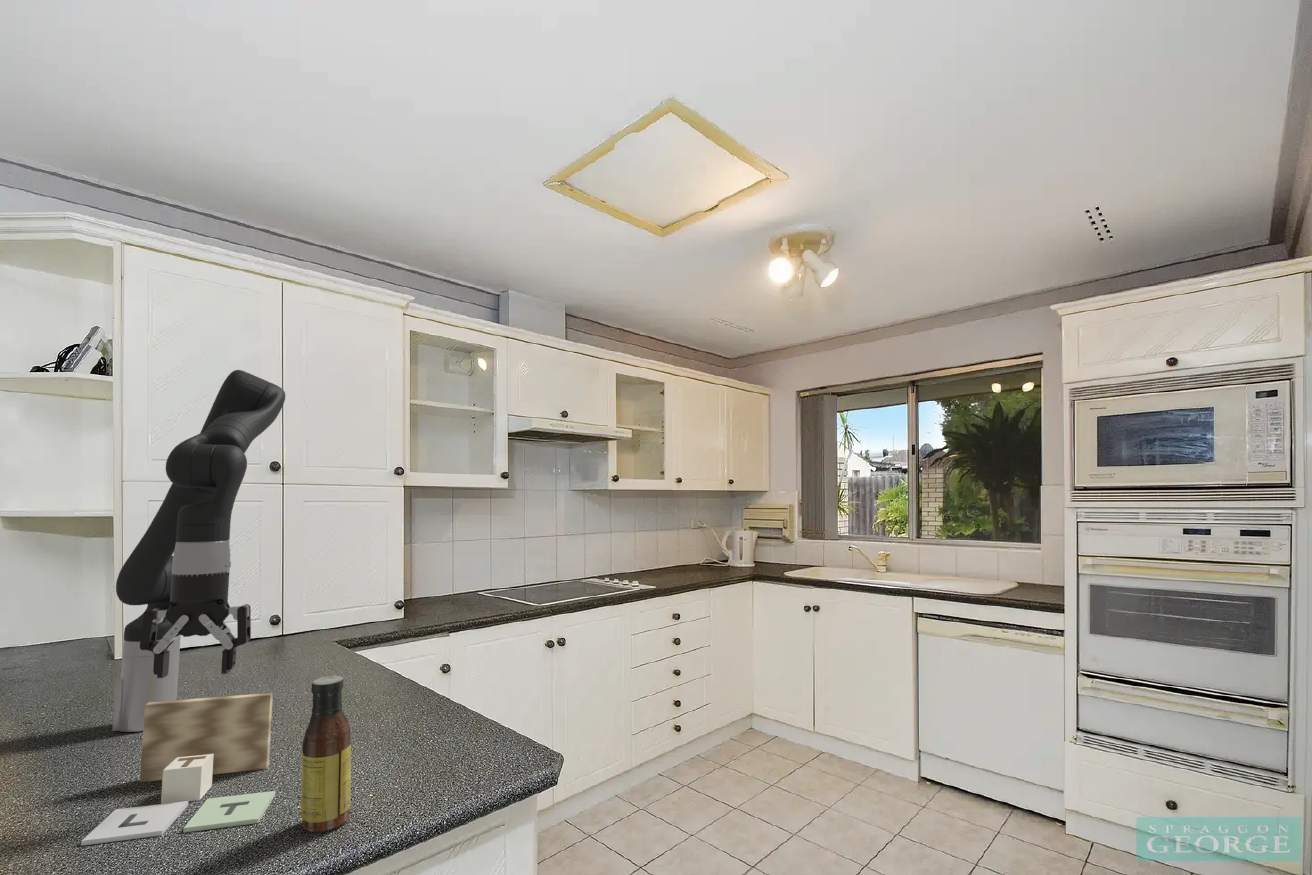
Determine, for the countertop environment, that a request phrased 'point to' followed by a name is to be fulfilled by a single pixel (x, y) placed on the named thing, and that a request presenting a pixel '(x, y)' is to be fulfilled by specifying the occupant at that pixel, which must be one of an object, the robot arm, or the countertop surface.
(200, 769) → the cube
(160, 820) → the board
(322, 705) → the sauce bottle
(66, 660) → the countertop surface
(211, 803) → the board
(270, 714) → the thin wooden plank
